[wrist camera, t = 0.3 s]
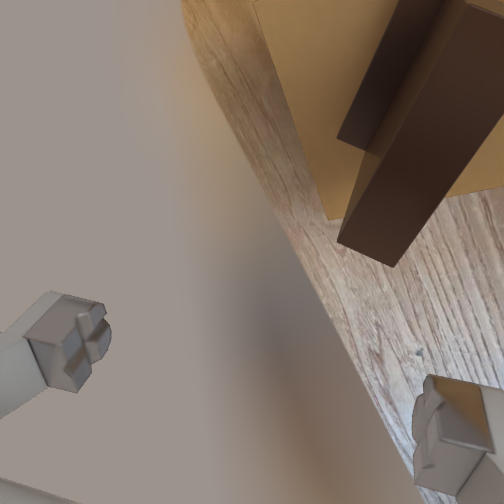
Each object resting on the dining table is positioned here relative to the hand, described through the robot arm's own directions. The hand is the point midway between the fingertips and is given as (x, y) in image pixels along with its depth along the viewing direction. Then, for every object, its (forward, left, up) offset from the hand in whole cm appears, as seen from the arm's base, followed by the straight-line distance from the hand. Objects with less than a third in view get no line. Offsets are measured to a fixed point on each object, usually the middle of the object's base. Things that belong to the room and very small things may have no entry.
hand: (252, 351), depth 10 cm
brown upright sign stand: (-2, +4, -14) cm, 14 cm away
